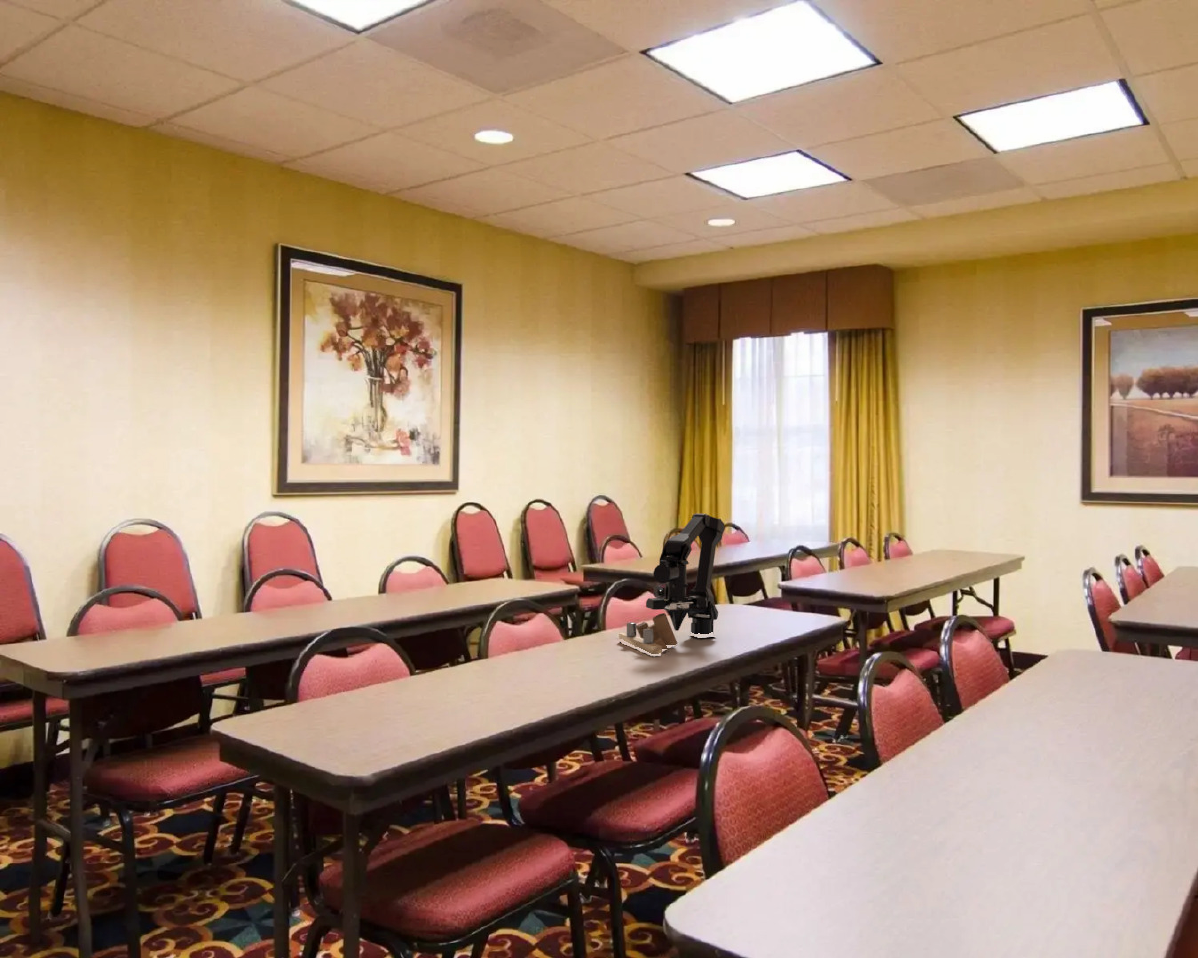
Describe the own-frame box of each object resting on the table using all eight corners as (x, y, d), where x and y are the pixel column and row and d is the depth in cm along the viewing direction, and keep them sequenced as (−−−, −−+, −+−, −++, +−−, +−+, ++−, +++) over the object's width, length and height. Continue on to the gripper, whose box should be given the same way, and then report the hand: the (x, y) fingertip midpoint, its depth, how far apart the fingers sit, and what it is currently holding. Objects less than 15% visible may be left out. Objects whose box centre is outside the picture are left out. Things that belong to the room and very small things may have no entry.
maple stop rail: (627, 641, 293) (627, 632, 293) (661, 656, 271) (661, 646, 271) (619, 642, 292) (619, 633, 292) (652, 657, 270) (652, 646, 270)
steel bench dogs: (633, 644, 289) (633, 622, 289) (654, 653, 275) (655, 630, 275) (624, 645, 288) (625, 622, 288) (645, 654, 274) (646, 630, 274)
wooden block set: (639, 650, 292) (627, 621, 291) (662, 638, 295) (650, 609, 294) (662, 659, 275) (649, 628, 274) (686, 646, 278) (673, 615, 277)
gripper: (691, 576, 297) (690, 624, 297) (638, 578, 290) (638, 628, 290) (708, 580, 287) (707, 630, 287) (654, 582, 280) (653, 634, 280)
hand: (676, 630), depth 286 cm, fingers closed
